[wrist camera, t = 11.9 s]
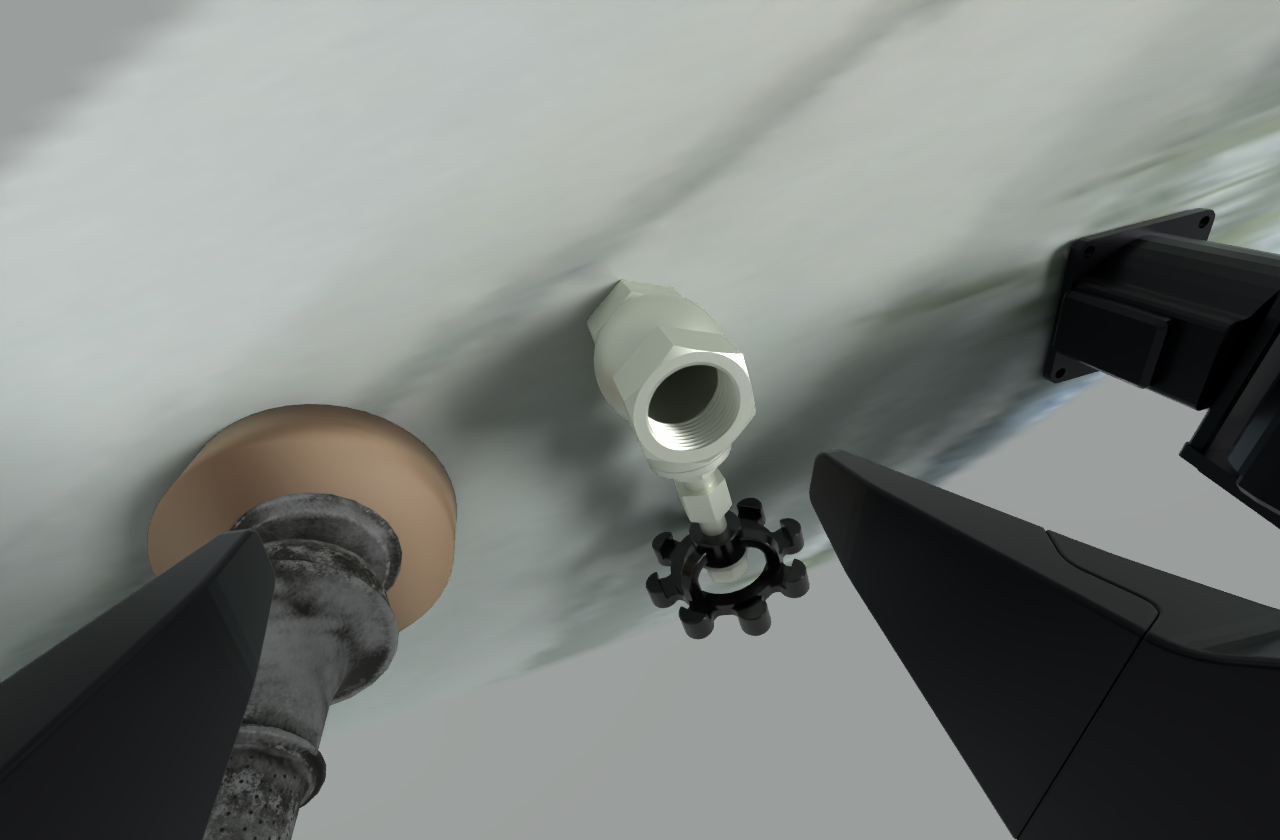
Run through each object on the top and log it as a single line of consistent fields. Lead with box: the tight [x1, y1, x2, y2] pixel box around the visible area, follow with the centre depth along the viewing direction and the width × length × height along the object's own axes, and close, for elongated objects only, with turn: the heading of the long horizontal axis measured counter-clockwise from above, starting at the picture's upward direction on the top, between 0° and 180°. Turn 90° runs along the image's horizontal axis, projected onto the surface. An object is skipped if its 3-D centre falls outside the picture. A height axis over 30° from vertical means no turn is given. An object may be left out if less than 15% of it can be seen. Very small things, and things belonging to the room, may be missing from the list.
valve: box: [586, 280, 809, 639], centre depth 20 cm, size 7×7×12 cm
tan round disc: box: [147, 404, 457, 631], centre depth 20 cm, size 9×9×2 cm
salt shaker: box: [203, 492, 402, 840], centre depth 14 cm, size 6×6×12 cm
